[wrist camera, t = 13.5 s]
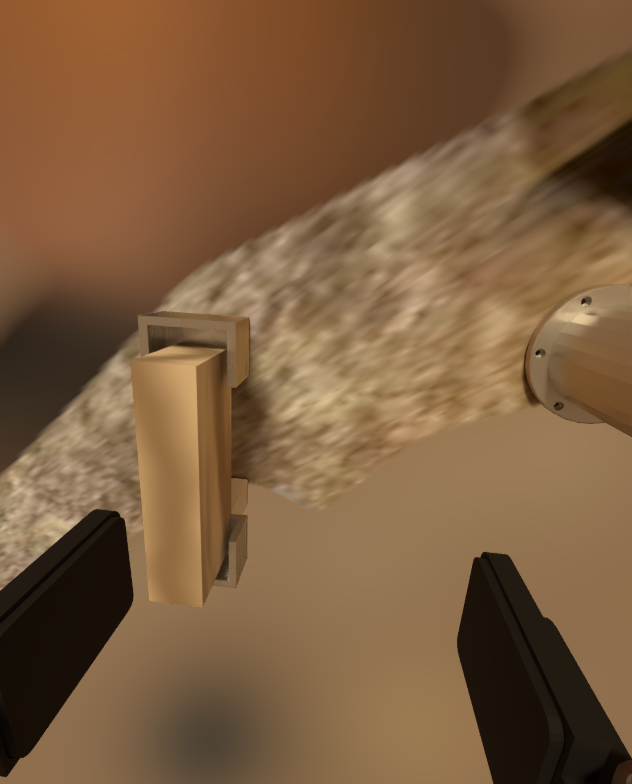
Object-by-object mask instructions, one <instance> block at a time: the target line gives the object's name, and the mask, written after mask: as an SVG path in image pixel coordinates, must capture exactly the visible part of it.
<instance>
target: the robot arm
mask: <svg viewBox="0 0 632 784" xmlns="http://www.w3.org/2000/svg"><path fill="white" fill-rule="evenodd" d="M582 299H583V302H582V303H581V300H582ZM537 350H538V353H537V354H535V353H536V351H537ZM525 369H526V377H527V381H528V384H529V386H530V389H531V391H532V393H533V394H534V396H535V397H536V399H537V400H538V401H539V402H540V403H541V404H542V405H543V406H544V407H545V408H547V409H548V410H549V411H551V412H552V413H554V414H556V415H558V416H560V417H562V418H564V419H566V420H570V421H574V422H577V423H588V424H594V423H605V422H606V423H607V424H609V425H611V426H613V427H615V428H616V429H618V430H620V431H622V432H624V433H625V434H627V435H629V436H631V437H632V286H627V285H605V286H597V287H593V288H590V289H587V290H583V291H580V292H578V293H576V294H574V295H572V296H570V297H568V298H567V299H565V300H564V301H562V302H561V303H560V304H558V305H557V306H555V307H554V308H553V309H552V310H551V311H550V312H549V313H548V314H547V315H546V316H545V317H544V318H543V320H542V321H541V323H540V324H539V325H538V327H537V328H536V330H535V332H534V334H533V336H532V338H531V340H530V342H529V346H528V350H527V353H526V363H525ZM555 403H556V404H555ZM132 602H133V586H132V578H131V569H130V561H129V552H128V543H127V535H126V526H125V520H124V519H123V518H121V517H120V514H119V513H118V512H116V511H109V510H100V509H96V510H93V511H92V512H90V513H89V514H88V515H87V516H86V517H85V518H83V519H82V520H81V521H80V522H79V523H78V524H77V525H75V526H74V527H73V528H72V529H71V530H70V531H69V532H67V533H66V534H65V535H64V536H63V537H62V538H60V539H59V540H58V541H57V542H56V543H55V544H54V545H52V546H51V547H50V548H49V549H48V550H47V551H46V552H44V553H43V554H42V555H41V556H40V557H39V558H38V559H36V560H35V561H34V562H33V563H32V564H31V565H29V566H28V567H27V568H26V569H25V570H24V571H23V572H21V573H20V574H19V575H18V576H17V577H16V578H15V579H13V580H12V581H11V582H10V583H9V584H8V585H6V586H5V587H4V588H3V589H2V590H1V591H0V776H3V777H7V776H8V774H9V773H10V772H11V770H12V769H13V767H14V766H15V765H16V763H17V762H18V760H19V759H20V758H24V757H25V756H27V755H28V754H29V753H30V752H31V750H32V749H33V748H34V747H35V745H36V744H37V742H38V741H39V740H40V738H41V737H42V735H43V734H44V732H45V731H46V729H47V728H48V727H49V725H50V723H51V722H52V721H53V719H54V718H55V716H56V715H57V713H58V712H59V710H60V709H61V708H62V706H63V705H64V703H65V702H66V700H67V699H68V698H69V696H70V694H71V693H72V692H73V690H74V689H75V687H76V686H77V685H78V683H79V682H80V680H81V679H82V677H83V676H84V674H85V673H86V672H87V670H88V669H89V667H90V666H91V664H92V663H93V661H94V660H95V659H96V657H97V656H98V654H99V653H100V651H101V650H102V648H103V647H104V645H105V644H106V643H107V641H108V640H109V638H110V636H111V635H112V634H113V632H114V631H115V629H116V628H117V627H118V625H119V624H120V622H121V621H122V620H123V618H124V617H125V615H126V614H127V612H128V611H129V609H130V607H131V605H132ZM457 648H458V654H459V658H460V662H461V665H462V669H463V673H464V677H465V680H466V684H467V688H468V691H469V695H470V699H471V703H472V706H473V710H474V714H475V717H476V721H477V725H478V728H479V732H480V736H481V739H482V743H483V747H484V751H485V754H486V758H487V761H488V765H489V769H490V772H491V776H492V780H493V784H632V758H631V756H630V755H629V753H628V751H627V750H626V748H625V746H624V744H623V743H622V741H621V739H620V737H619V736H618V734H617V732H616V731H615V729H614V727H613V725H612V723H611V722H610V720H609V718H608V716H607V715H606V713H605V711H604V710H603V708H602V706H601V704H600V702H599V701H598V699H597V697H596V696H595V694H594V692H593V690H592V689H591V687H590V685H589V683H588V682H587V680H586V678H585V676H584V675H583V673H582V671H581V669H580V668H579V666H578V664H577V662H576V661H575V659H574V657H573V655H572V654H571V652H570V650H569V648H568V647H567V645H566V643H565V642H564V640H563V638H562V636H561V635H560V633H559V631H558V629H557V628H556V626H555V625H554V623H553V622H552V621H551V620H549V619H548V618H544V617H543V616H542V614H541V612H540V610H539V609H538V607H537V605H536V603H535V601H534V599H533V598H532V596H531V594H530V592H529V590H528V589H527V587H526V585H525V583H524V582H523V580H522V578H521V576H520V574H519V572H518V571H517V569H516V567H515V565H514V563H513V562H512V560H511V558H510V557H509V556H508V555H506V554H498V553H489V552H483V553H482V555H481V557H480V558H479V557H476V558H474V561H473V565H472V570H471V574H470V579H469V584H468V589H467V594H466V598H465V603H464V608H463V613H462V618H461V623H460V627H459V632H458V637H457Z"/></svg>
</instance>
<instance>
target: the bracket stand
mask: <svg viewBox="0 0 632 784" xmlns="http://www.w3.org/2000/svg"><path fill="white" fill-rule="evenodd" d="M138 324H139V337H140V351H141V357H142V356H145V355H148V354H150V353H153V352H156V351H159V350H161V349H164V348H167V347H169V346H172V345H175V344H178V343H180V342H183V343H195V344H208V345H220V346H227V387H230V388H236V387H237V386H238V385H239V384H240V383H241V382H243V381H244V380H245V379H246V378H247V377H248V376H249V317H239V316H225V315H209V314H195V313H181V312H167V311H161V312H155V313H149V314H143V315H138ZM247 498H248V479H238V478H231V537H230V540H229V549H228V551H227V554H226V556H225V558H224V560H223V563H222V565H221V567H220V569H219V572H218V574H217V576H216V578H215V581H214V583H213V585H216V586H225V587H234V588H236V587H237V584H238V581H239V578H240V576H241V573H242V570H243V567H244V565H245V562H246V559H247V515H242V514H243V512H244V510H245V508H246V505H247V503H248V502H247V501H248V499H247Z"/></svg>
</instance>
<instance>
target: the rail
mask: <svg viewBox="0 0 632 784" xmlns="http://www.w3.org/2000/svg"><path fill="white" fill-rule="evenodd" d="M131 374H132V387H133V399H134V412H135V425H136V437H137V450H138V462H139V475H140V488H141V500H142V513H143V525H144V536H145V550H146V562H147V574H148V575H147V576H148V587H149V600H150V601H156V602H164V603H172V604H181V605H189V606H196V607H203V605H204V603H205V601H206V599H207V596H208V594H209V592H210V589H211V587H212V585H213V583H214V581H215V578H216V576H217V574H218V572H219V569H220V567H221V565H222V563H223V560H224V558H225V556H226V554H227V551H228V549H229V540H230V537H231V388H230V387H227V346H220V345H208V344H195V343H183V342H180V343H178V344H175V345H172V346H169V347H167V348H164V349H161V350H159V351H156V352H153V353H150V354H148V355H145V356H142V357H140V358H137V359H134V360H131Z"/></svg>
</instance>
